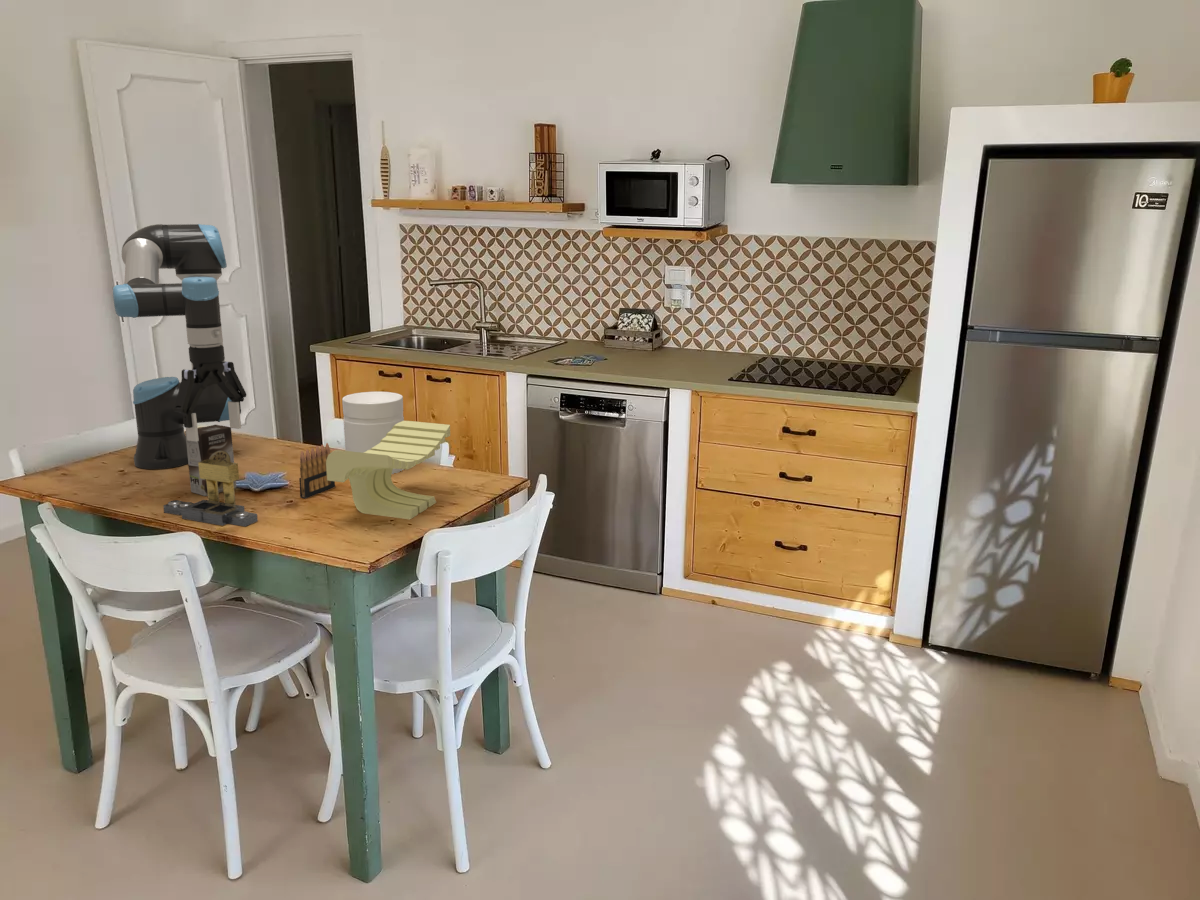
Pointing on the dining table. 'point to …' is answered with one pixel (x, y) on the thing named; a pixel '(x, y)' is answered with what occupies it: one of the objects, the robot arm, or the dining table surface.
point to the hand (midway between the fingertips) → (215, 434)
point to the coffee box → (208, 454)
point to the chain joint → (211, 512)
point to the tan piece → (219, 478)
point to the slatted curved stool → (388, 469)
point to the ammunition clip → (314, 472)
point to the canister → (370, 419)
